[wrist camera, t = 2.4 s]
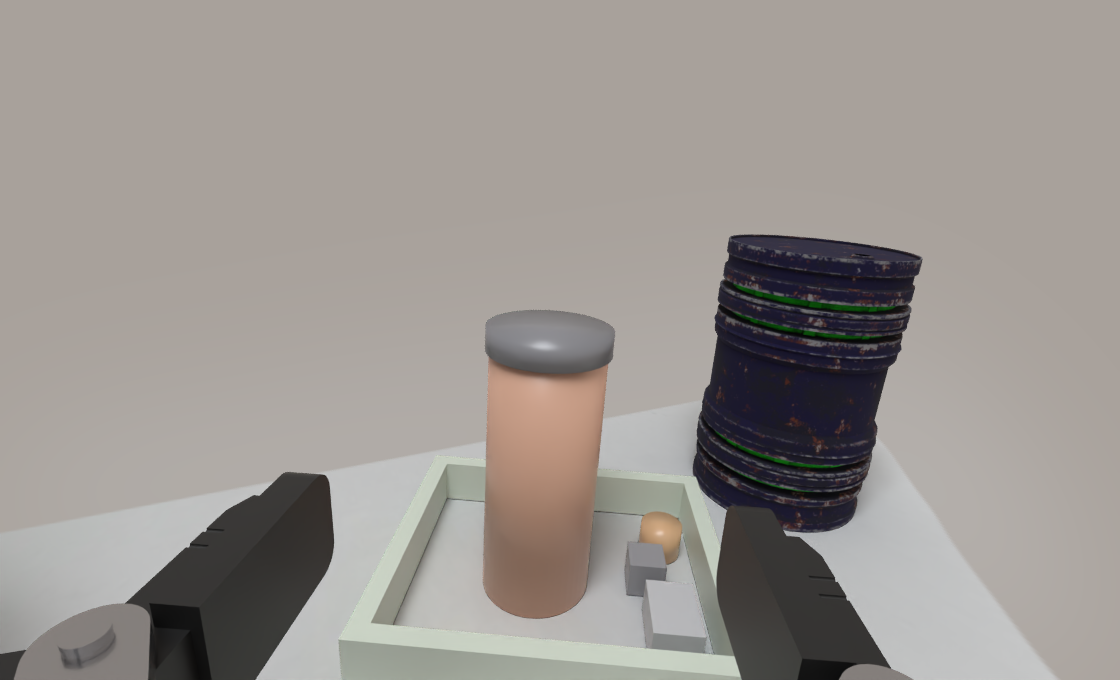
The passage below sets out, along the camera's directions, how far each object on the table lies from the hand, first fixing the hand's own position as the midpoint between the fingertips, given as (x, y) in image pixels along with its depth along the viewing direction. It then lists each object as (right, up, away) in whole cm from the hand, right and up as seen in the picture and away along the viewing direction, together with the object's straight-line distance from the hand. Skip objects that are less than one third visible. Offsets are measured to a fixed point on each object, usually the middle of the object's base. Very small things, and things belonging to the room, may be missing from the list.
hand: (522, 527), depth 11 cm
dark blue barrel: (+14, -5, +23) cm, 28 cm away
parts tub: (+1, -7, +14) cm, 16 cm away
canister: (0, -7, +14) cm, 16 cm away
